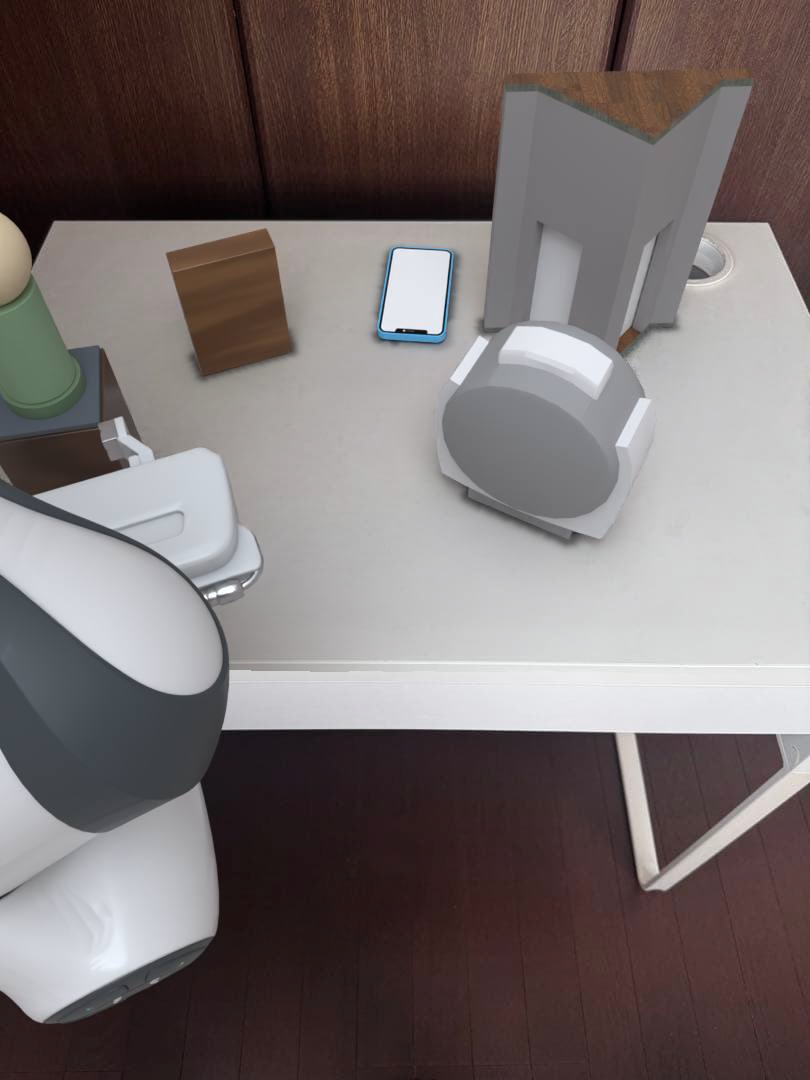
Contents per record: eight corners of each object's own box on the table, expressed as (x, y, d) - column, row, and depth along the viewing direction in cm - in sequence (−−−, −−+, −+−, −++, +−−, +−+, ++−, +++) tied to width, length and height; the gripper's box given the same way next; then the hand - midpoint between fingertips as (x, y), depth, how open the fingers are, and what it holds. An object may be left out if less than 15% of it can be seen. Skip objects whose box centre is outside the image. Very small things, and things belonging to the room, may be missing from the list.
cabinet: (669, 317, 98) (750, 67, 74) (686, 380, 92) (780, 134, 69) (483, 322, 97) (505, 73, 74) (490, 386, 92) (516, 141, 69)
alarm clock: (631, 502, 84) (687, 351, 67) (599, 569, 80) (650, 426, 63) (464, 435, 89) (476, 277, 72) (425, 495, 85) (428, 343, 68)
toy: (99, 404, 65) (80, 409, 53) (18, 426, 64) (-22, 437, 51) (36, 224, 62) (0, 183, 49) (-51, 244, 61) (-110, 208, 48)
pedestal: (86, 599, 79) (-14, 445, 60) (87, 527, 83) (-7, 362, 64) (176, 584, 79) (104, 428, 61) (171, 513, 84) (103, 347, 65)
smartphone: (454, 249, 103) (444, 337, 94) (453, 257, 104) (444, 345, 95) (391, 245, 103) (376, 332, 95) (391, 253, 104) (376, 341, 96)
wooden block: (292, 352, 95) (275, 246, 83) (202, 376, 93) (172, 272, 82) (284, 333, 97) (266, 227, 85) (196, 357, 95) (165, 252, 83)
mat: (-11, 443, 60) (-14, 438, 60) (-4, 364, 64) (-7, 359, 64) (101, 426, 61) (99, 421, 61) (100, 349, 65) (98, 344, 65)
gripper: (264, 554, 42) (197, 361, 49) (-183, 697, 38) (-187, 466, 45) (281, 615, 48) (218, 433, 55) (-111, 747, 44) (-124, 532, 51)
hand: (31, 449), depth 50 cm, fingers open, 8 cm apart
